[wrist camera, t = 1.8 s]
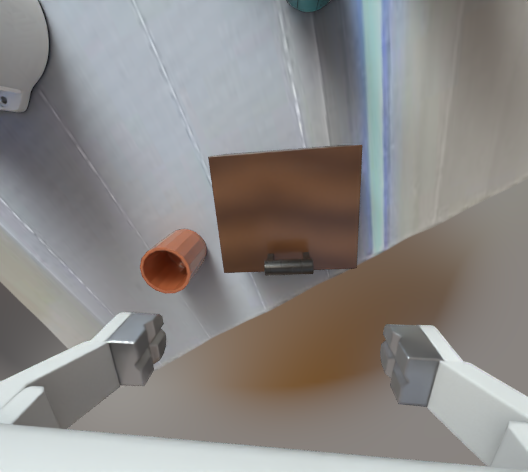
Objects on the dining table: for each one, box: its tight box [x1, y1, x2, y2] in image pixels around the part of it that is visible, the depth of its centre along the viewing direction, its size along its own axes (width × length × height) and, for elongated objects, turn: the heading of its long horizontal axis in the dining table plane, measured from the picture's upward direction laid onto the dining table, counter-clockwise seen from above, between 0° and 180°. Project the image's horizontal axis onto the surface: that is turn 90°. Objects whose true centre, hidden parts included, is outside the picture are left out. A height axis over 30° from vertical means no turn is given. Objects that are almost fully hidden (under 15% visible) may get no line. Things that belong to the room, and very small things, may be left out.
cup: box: [140, 229, 207, 293], centre depth 36 cm, size 6×6×8 cm
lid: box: [208, 145, 362, 275], centre depth 27 cm, size 14×16×5 cm
